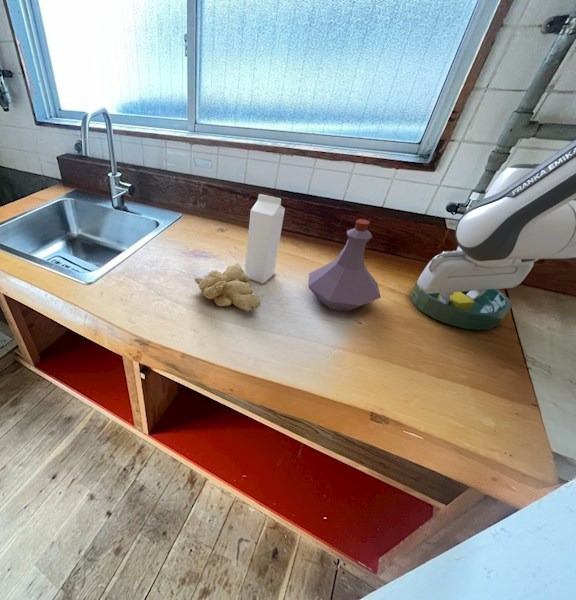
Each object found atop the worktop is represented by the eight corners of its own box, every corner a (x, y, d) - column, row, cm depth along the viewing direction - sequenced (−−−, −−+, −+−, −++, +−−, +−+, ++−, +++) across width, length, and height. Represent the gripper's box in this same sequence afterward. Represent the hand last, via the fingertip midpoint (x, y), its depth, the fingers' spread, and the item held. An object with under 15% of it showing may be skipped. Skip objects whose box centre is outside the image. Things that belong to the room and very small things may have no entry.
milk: (262, 284, 85) (275, 202, 72) (243, 276, 88) (251, 197, 75) (274, 274, 88) (287, 195, 75) (254, 267, 92) (264, 190, 78)
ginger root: (196, 273, 88) (203, 249, 82) (252, 289, 87) (263, 265, 82) (186, 310, 76) (194, 284, 70) (251, 328, 75) (264, 303, 70)
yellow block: (466, 314, 71) (475, 302, 69) (451, 315, 71) (458, 303, 69) (449, 301, 75) (457, 289, 73) (434, 302, 75) (441, 290, 73)
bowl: (520, 328, 68) (533, 312, 65) (443, 334, 67) (453, 317, 64) (459, 285, 81) (468, 270, 78) (395, 289, 80) (401, 274, 78)
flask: (384, 296, 78) (418, 218, 67) (362, 331, 69) (397, 247, 57) (318, 274, 88) (337, 202, 76) (290, 302, 78) (307, 224, 66)
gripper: (448, 260, 61) (418, 316, 69) (552, 252, 61) (510, 309, 70) (425, 245, 66) (400, 299, 74) (521, 238, 66) (486, 292, 75)
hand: (454, 304), depth 72 cm, fingers closed on yellow block, 3 cm apart
